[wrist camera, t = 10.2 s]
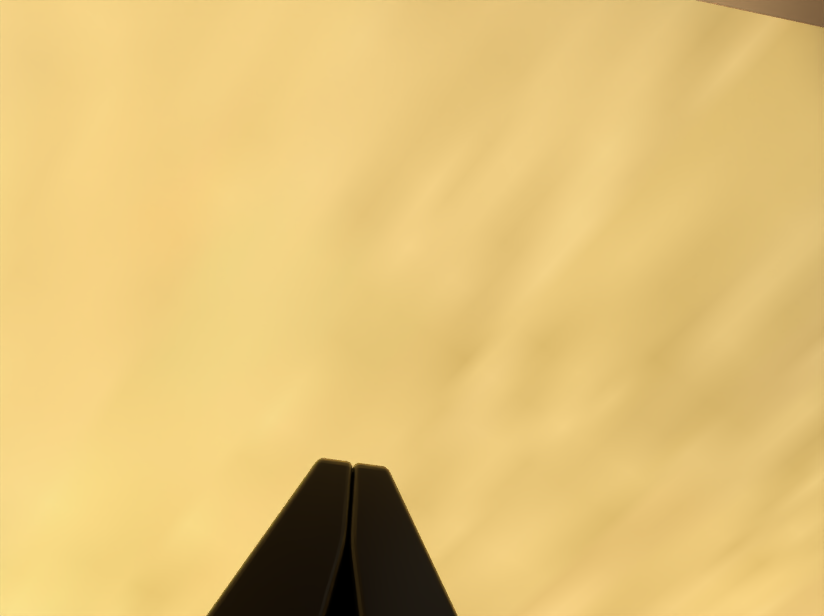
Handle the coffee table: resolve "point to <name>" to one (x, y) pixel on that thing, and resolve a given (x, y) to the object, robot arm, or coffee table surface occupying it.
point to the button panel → (781, 9)
